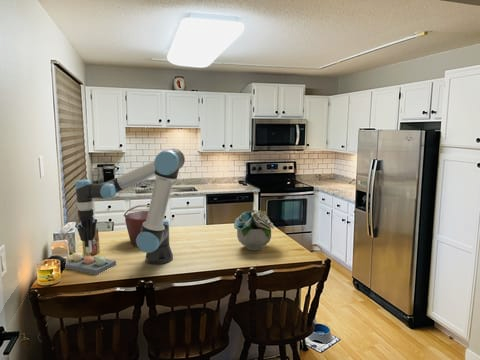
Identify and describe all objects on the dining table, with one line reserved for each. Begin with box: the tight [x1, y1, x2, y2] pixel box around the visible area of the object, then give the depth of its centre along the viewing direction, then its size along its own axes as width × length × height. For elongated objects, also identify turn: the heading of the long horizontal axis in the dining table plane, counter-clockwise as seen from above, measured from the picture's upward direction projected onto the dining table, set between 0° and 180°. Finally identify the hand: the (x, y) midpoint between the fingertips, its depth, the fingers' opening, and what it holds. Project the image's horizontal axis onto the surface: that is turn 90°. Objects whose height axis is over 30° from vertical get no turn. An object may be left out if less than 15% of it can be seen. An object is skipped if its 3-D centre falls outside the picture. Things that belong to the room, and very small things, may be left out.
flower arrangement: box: [233, 209, 275, 252], centre depth 217 cm, size 25×25×24 cm
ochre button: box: [71, 251, 83, 263], centre depth 193 cm, size 5×5×4 cm
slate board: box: [65, 254, 117, 276], centre depth 190 cm, size 24×14×2 cm, turn 68°
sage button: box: [95, 255, 106, 267], centre depth 187 cm, size 5×5×4 cm
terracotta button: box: [84, 255, 95, 265], centre depth 190 cm, size 5×5×4 cm
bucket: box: [123, 204, 150, 248], centre depth 226 cm, size 24×22×25 cm
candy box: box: [81, 227, 101, 257], centre depth 206 cm, size 9×4×15 cm, turn 156°
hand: (89, 252), depth 189 cm, fingers closed
